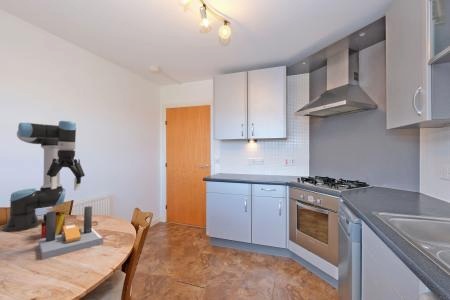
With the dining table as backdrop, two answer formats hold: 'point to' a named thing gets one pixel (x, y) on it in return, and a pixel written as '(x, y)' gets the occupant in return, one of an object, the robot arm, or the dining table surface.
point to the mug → (58, 225)
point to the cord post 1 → (50, 226)
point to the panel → (69, 244)
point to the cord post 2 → (87, 219)
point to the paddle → (71, 233)
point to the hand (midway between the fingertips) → (65, 189)
